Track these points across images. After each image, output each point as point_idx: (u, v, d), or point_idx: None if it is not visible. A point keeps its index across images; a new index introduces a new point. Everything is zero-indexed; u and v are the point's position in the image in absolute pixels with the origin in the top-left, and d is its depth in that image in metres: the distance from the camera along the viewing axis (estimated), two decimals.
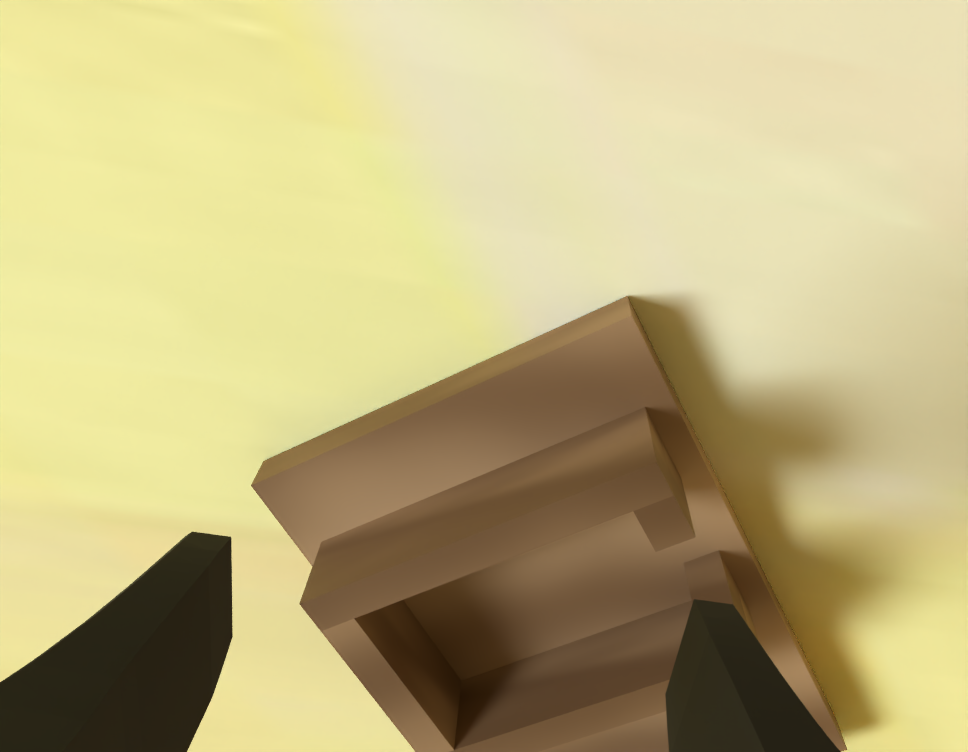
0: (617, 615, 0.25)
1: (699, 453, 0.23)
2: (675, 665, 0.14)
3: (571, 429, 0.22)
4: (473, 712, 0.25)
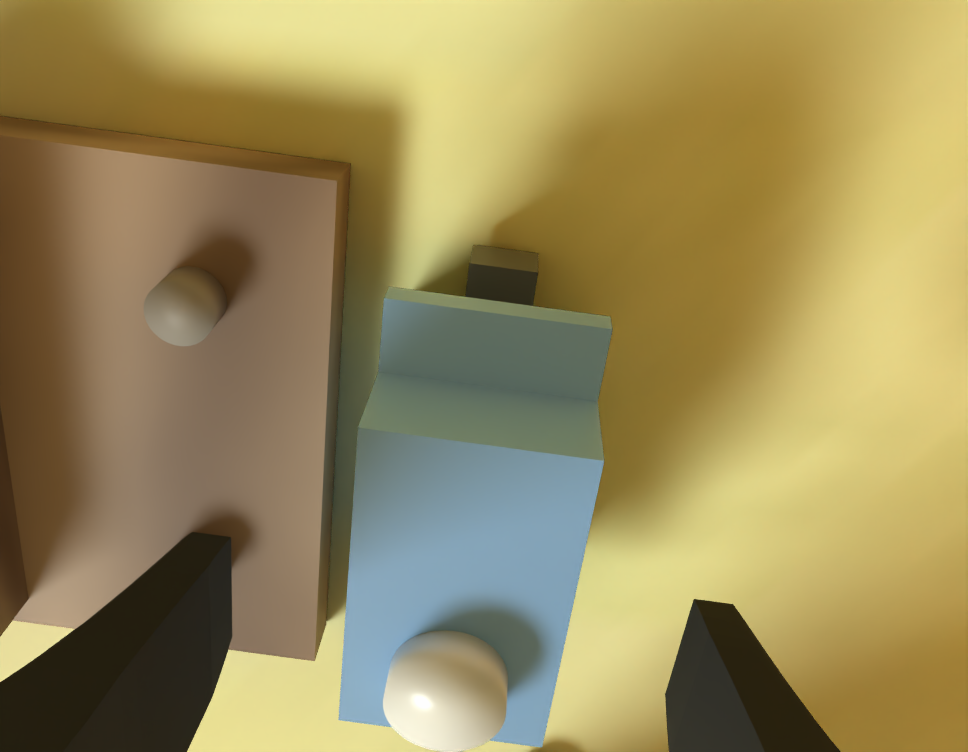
0: None
1: None
2: (675, 665, 0.14)
3: None
4: None
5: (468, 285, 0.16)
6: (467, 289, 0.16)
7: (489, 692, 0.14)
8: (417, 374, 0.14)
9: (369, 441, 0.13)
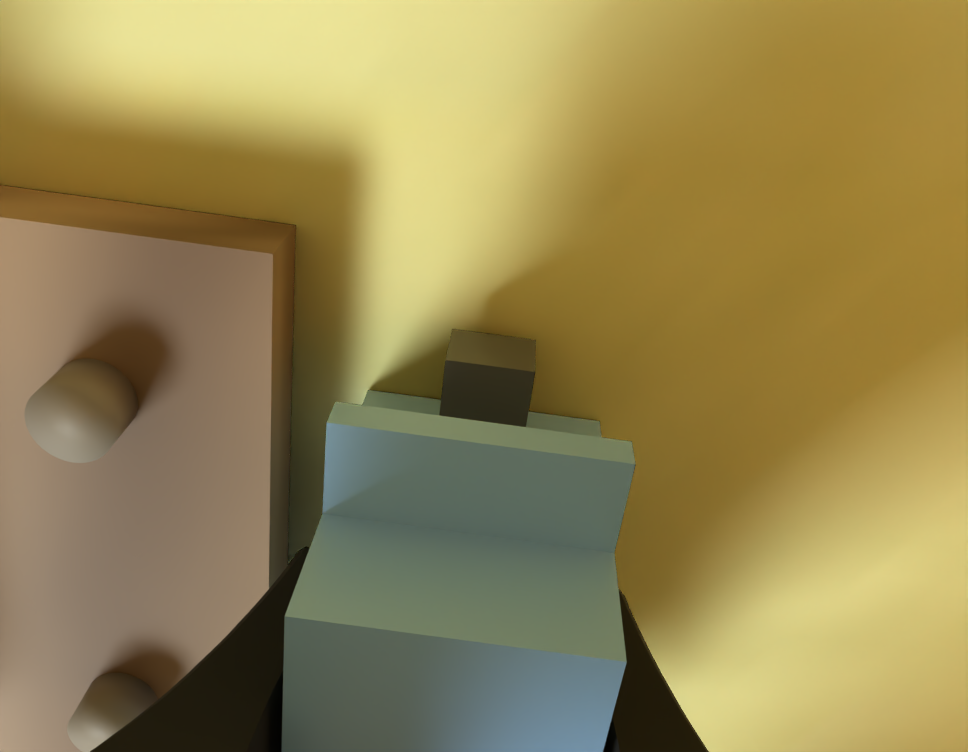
0: None
1: None
2: None
3: None
4: None
5: (444, 387, 0.12)
6: (443, 392, 0.12)
7: None
8: (374, 518, 0.11)
9: (301, 633, 0.09)
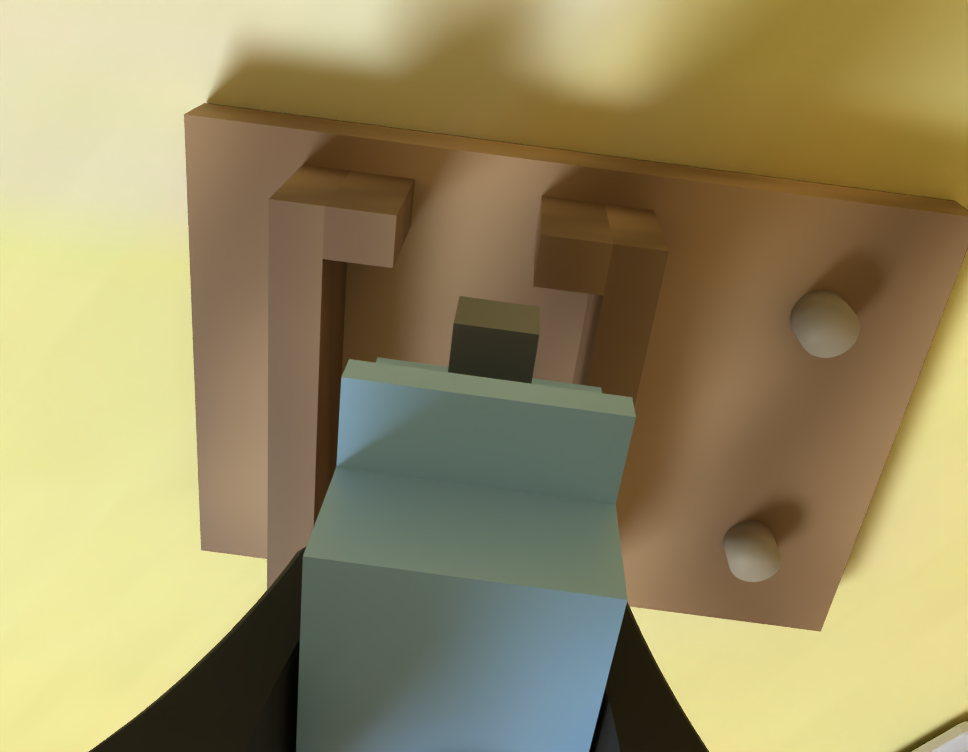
0: (561, 350, 0.20)
1: (395, 142, 0.18)
2: None
3: None
4: None
5: (452, 349, 0.13)
6: (451, 354, 0.13)
7: None
8: (386, 470, 0.11)
9: (318, 572, 0.10)
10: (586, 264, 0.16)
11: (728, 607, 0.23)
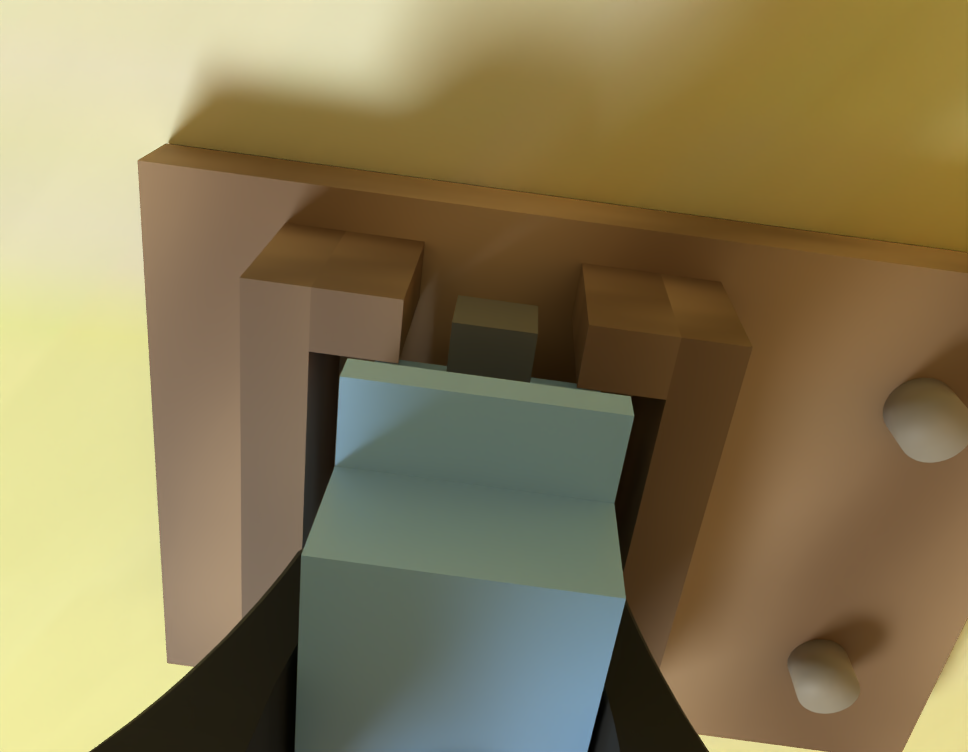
0: None
1: (401, 196, 0.14)
2: None
3: None
4: None
5: (451, 349, 0.13)
6: (449, 354, 0.13)
7: None
8: (384, 470, 0.11)
9: (317, 572, 0.10)
10: (646, 362, 0.13)
11: (790, 734, 0.19)
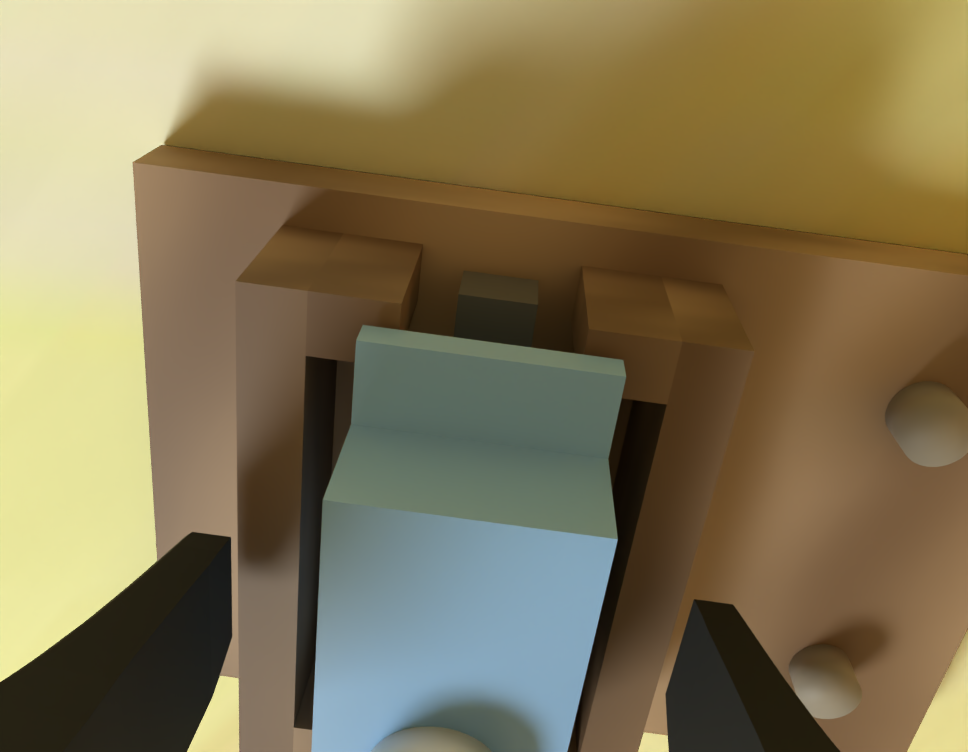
0: None
1: (399, 199, 0.14)
2: (675, 665, 0.14)
3: None
4: None
5: (457, 319, 0.14)
6: (456, 324, 0.14)
7: None
8: (396, 428, 0.12)
9: (336, 515, 0.11)
10: (646, 366, 0.12)
11: None
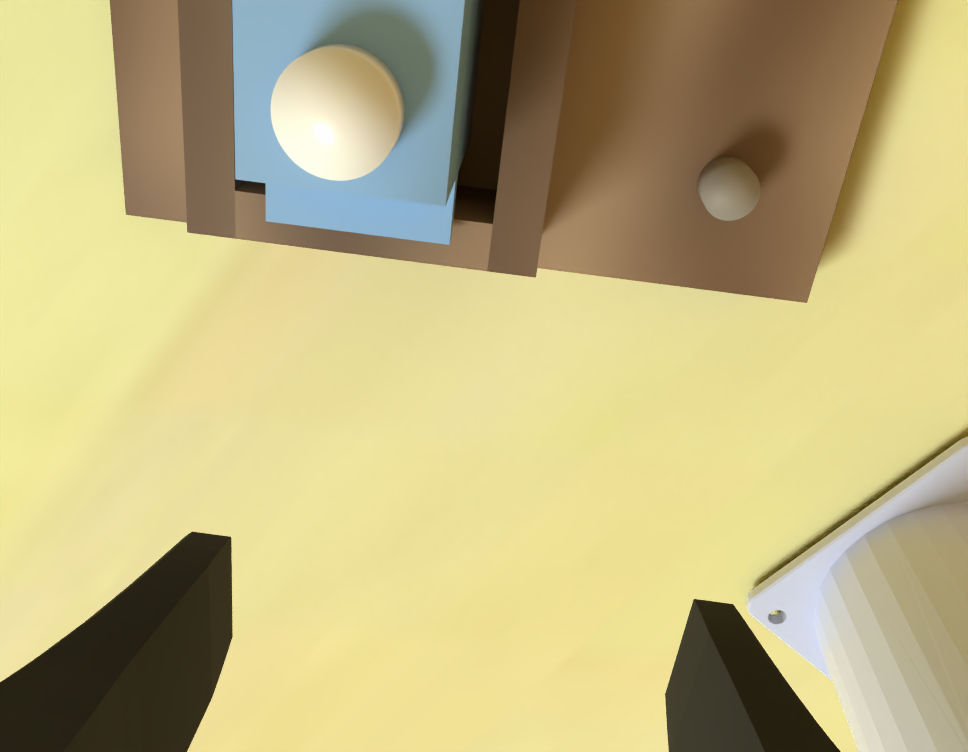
0: None
1: None
2: (675, 665, 0.14)
3: None
4: None
5: None
6: None
7: (378, 90, 0.14)
8: None
9: None
10: None
11: (705, 274, 0.21)
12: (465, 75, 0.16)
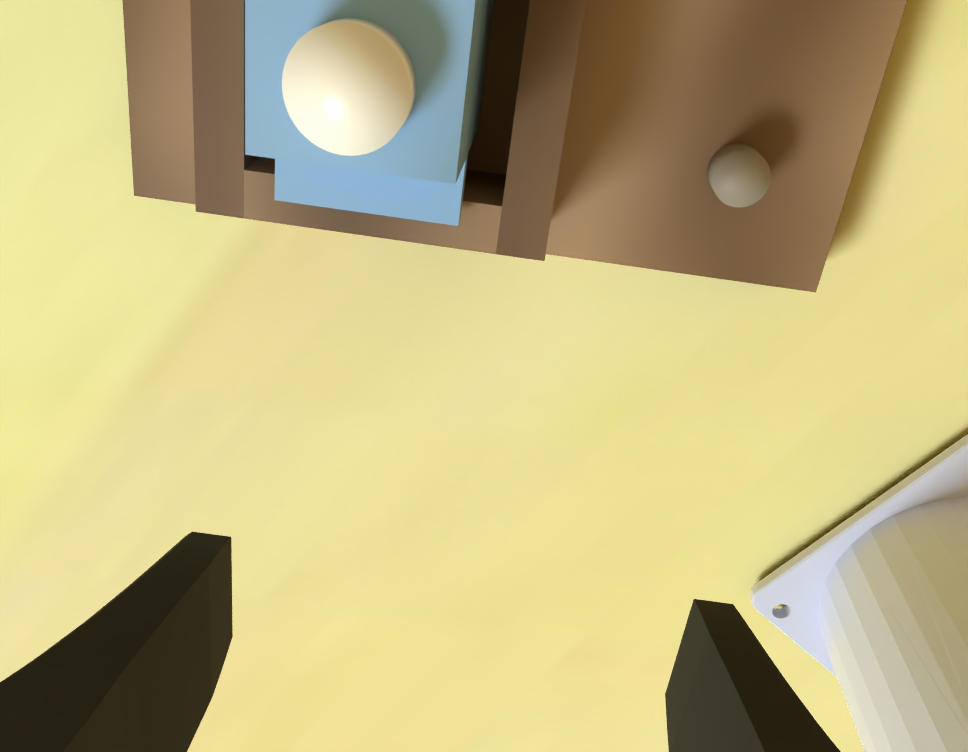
0: None
1: None
2: (675, 665, 0.14)
3: None
4: None
5: None
6: None
7: (390, 64, 0.14)
8: None
9: None
10: None
11: (714, 261, 0.21)
12: (477, 54, 0.16)
